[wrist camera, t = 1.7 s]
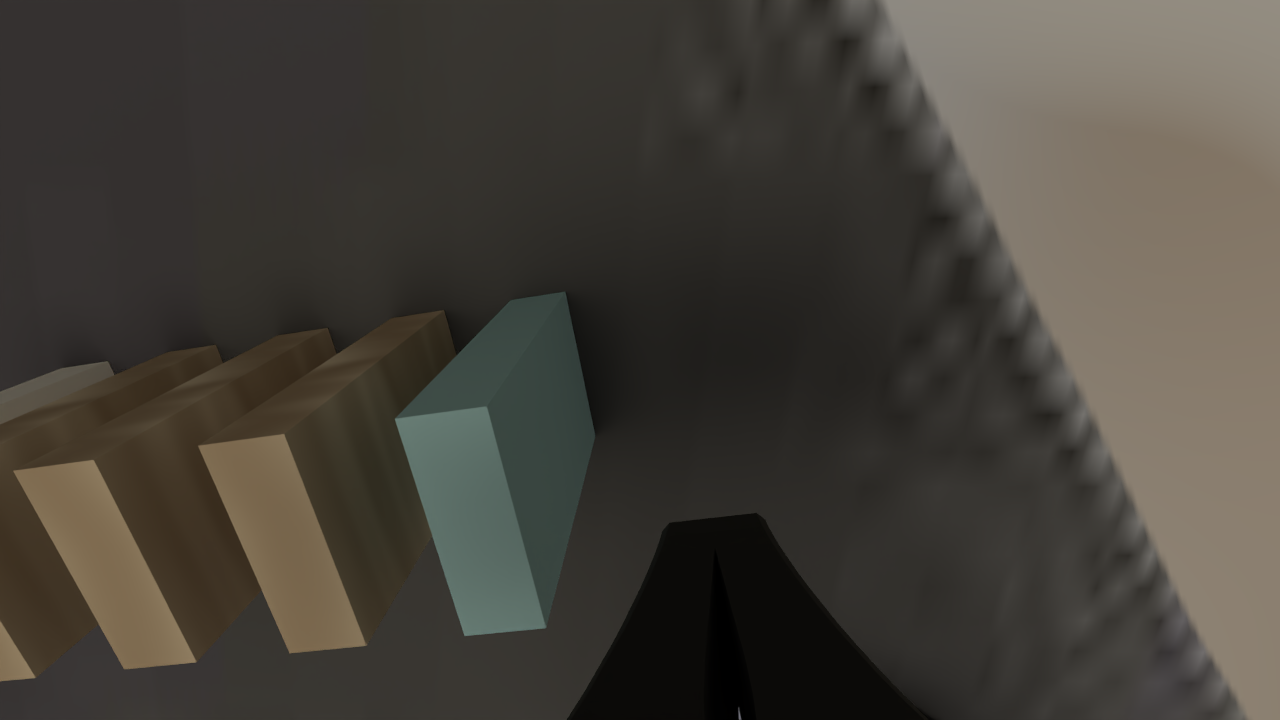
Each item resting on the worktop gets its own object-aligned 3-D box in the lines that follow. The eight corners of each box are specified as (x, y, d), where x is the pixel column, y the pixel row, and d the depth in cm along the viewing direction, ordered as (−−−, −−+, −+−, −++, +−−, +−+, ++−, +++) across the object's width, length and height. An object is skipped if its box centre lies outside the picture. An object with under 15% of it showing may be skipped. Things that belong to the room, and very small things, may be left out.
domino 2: (328, 327, 19) (93, 459, 11) (374, 464, 20) (196, 662, 13) (277, 335, 19) (13, 471, 11) (327, 470, 20) (124, 669, 13)
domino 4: (565, 291, 18) (486, 406, 10) (595, 436, 19) (545, 627, 12) (511, 299, 18) (394, 418, 10) (545, 442, 20) (464, 636, 12)
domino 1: (215, 344, 19) (-85, 483, 11) (269, 477, 20) (35, 678, 13) (167, 352, 19) (-161, 494, 12) (224, 483, 21) (-33, 684, 13)
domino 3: (444, 310, 18) (283, 434, 11) (483, 450, 20) (366, 645, 12) (391, 317, 18) (197, 445, 11) (434, 456, 20) (290, 652, 12)
